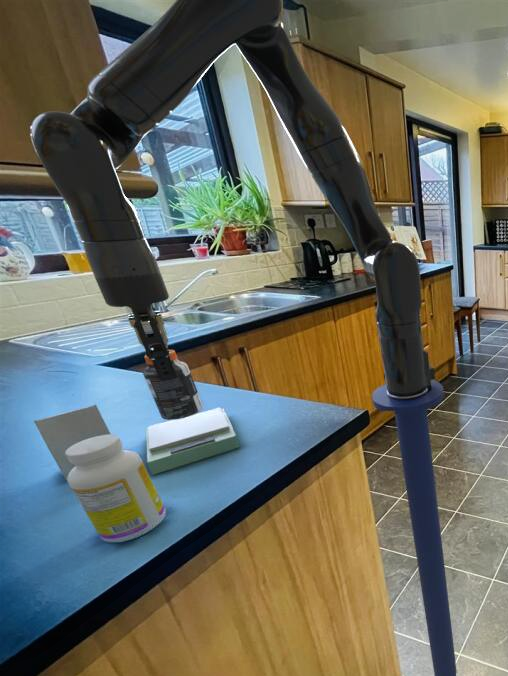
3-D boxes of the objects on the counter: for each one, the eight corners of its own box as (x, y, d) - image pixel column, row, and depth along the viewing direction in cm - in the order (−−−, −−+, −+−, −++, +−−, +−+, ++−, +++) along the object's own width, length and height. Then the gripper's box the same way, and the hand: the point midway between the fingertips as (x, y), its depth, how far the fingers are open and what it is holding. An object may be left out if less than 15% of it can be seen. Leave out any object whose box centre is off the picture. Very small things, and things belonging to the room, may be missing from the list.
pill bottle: (211, 405, 73) (190, 346, 68) (187, 421, 68) (162, 358, 63) (179, 405, 73) (156, 346, 69) (152, 421, 68) (125, 358, 63)
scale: (227, 418, 80) (223, 405, 79) (240, 447, 70) (235, 432, 69) (150, 440, 73) (144, 426, 72) (152, 475, 63) (145, 459, 62)
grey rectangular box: (123, 461, 67) (98, 408, 63) (66, 481, 62) (34, 425, 58) (119, 453, 69) (94, 401, 65) (64, 472, 64) (33, 417, 60)
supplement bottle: (140, 506, 57) (101, 427, 51) (180, 511, 56) (144, 431, 50) (87, 542, 51) (36, 457, 45) (130, 548, 50) (83, 462, 44)
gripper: (161, 273, 58) (199, 380, 65) (157, 264, 68) (191, 357, 75) (89, 280, 53) (139, 393, 60) (97, 269, 63) (138, 367, 70)
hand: (167, 373), depth 67 cm, fingers closed on pill bottle, 6 cm apart
